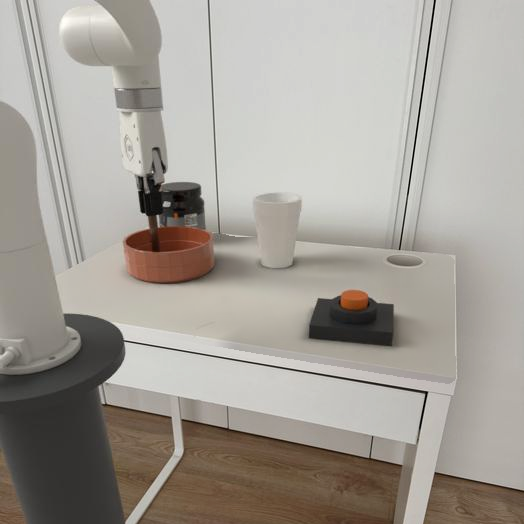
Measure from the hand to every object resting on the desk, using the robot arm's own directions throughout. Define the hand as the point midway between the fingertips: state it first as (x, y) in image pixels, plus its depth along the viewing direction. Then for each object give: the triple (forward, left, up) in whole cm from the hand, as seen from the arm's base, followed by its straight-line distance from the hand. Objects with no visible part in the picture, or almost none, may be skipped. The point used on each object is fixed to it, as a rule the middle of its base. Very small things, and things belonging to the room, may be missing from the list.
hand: (151, 212), depth 93 cm
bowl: (+4, -1, -12) cm, 13 cm away
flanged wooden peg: (0, 0, -10) cm, 10 cm away
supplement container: (+22, +3, -12) cm, 26 cm away
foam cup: (+11, -21, -12) cm, 27 cm away
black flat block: (-15, -38, -12) cm, 42 cm away
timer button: (-15, -38, -8) cm, 41 cm away
